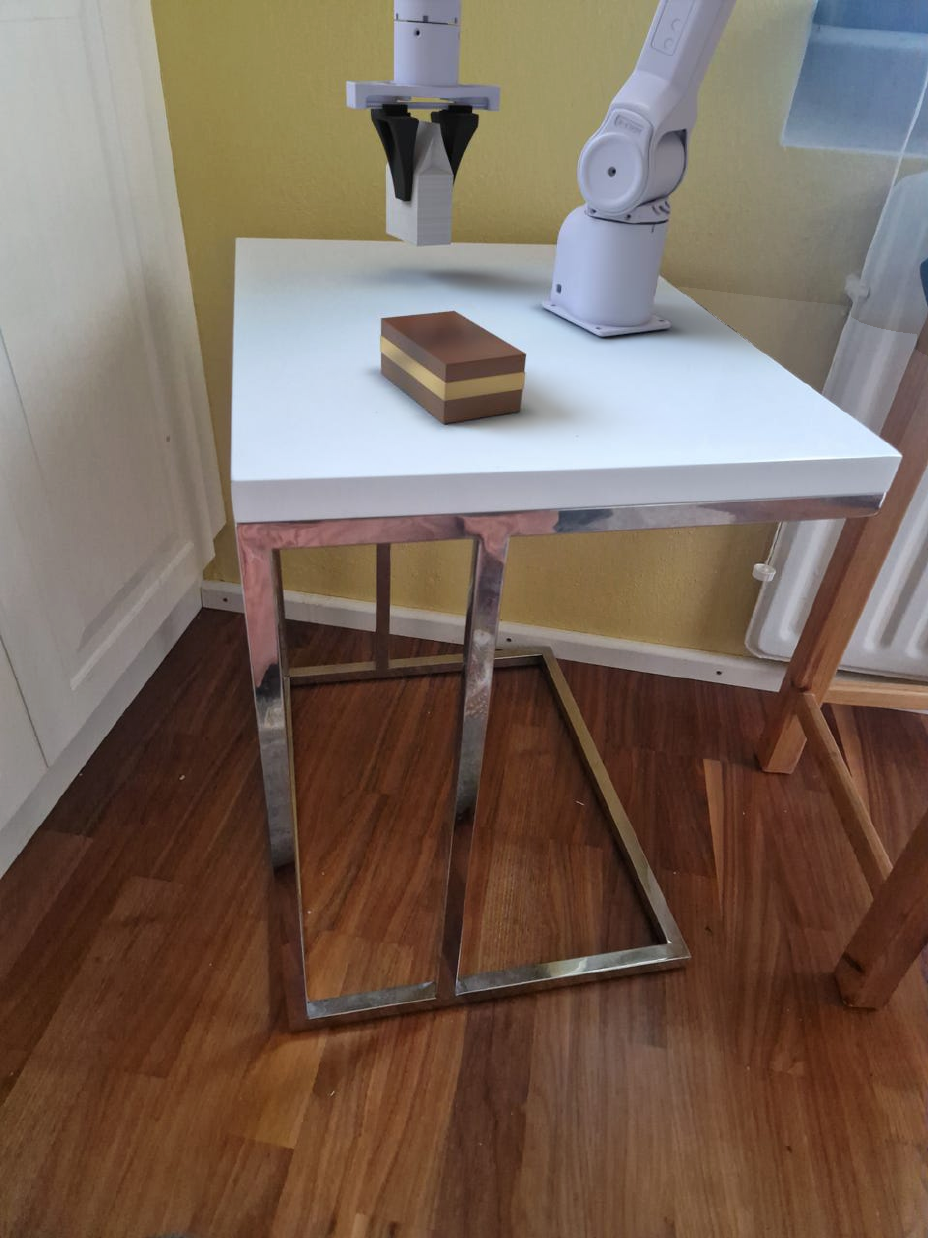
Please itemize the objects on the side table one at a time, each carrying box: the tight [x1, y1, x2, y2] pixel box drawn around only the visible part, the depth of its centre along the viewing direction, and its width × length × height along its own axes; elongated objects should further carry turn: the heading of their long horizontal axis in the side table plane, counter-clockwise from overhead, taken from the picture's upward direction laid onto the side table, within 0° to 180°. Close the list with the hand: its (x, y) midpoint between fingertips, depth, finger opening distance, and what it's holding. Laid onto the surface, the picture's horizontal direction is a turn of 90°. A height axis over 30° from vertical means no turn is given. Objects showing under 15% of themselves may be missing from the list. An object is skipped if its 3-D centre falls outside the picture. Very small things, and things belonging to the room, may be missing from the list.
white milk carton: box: [385, 119, 454, 247], centre depth 78 cm, size 4×7×10 cm, turn 29°
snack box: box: [379, 310, 527, 425], centre depth 58 cm, size 10×6×4 cm, turn 29°
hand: (423, 198), depth 79 cm, fingers closed on white milk carton, 4 cm apart
